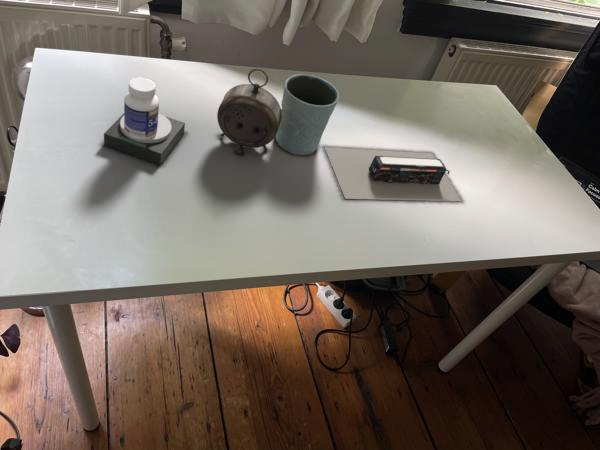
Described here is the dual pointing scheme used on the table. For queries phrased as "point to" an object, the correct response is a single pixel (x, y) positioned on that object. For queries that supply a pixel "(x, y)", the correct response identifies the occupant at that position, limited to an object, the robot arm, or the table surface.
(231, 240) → the table surface
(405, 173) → the grey flat tray
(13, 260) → the table surface
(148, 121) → the pill bottle
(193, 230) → the table surface
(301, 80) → the teal ceramic cup
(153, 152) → the scale
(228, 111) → the alarm clock
